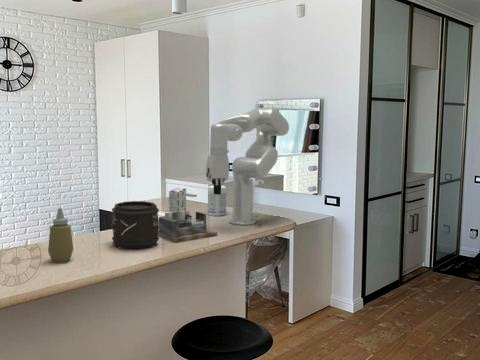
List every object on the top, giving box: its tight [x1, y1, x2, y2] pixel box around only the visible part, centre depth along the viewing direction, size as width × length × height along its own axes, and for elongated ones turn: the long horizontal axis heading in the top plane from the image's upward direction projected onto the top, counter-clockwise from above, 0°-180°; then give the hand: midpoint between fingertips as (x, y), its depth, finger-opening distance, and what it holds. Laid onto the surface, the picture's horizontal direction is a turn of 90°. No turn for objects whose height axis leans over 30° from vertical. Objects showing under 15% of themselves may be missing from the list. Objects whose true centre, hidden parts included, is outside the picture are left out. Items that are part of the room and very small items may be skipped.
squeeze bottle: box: [47, 207, 74, 263], centre depth 159 cm, size 8×8×18 cm
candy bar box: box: [168, 187, 187, 213], centre depth 219 cm, size 11×5×16 cm, turn 168°
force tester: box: [158, 209, 218, 244], centre depth 199 cm, size 21×16×9 cm
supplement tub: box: [207, 185, 227, 217], centre depth 244 cm, size 10×10×15 cm
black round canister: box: [110, 200, 160, 251], centre depth 183 cm, size 18×18×16 cm
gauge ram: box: [184, 211, 207, 228], centre depth 203 cm, size 7×9×7 cm
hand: (217, 194), depth 208 cm, fingers closed
